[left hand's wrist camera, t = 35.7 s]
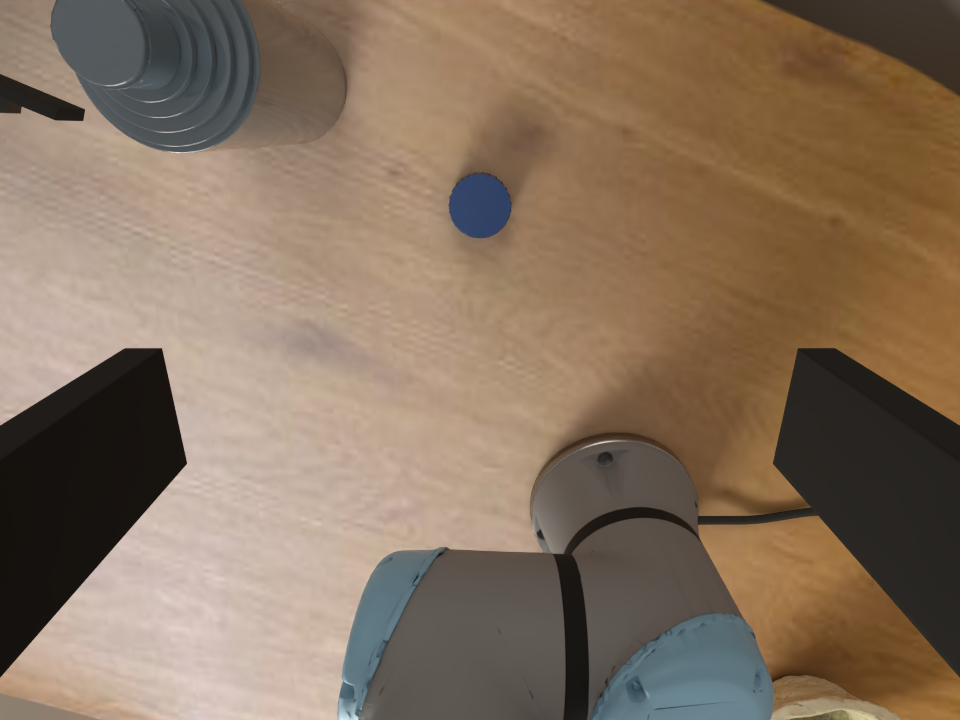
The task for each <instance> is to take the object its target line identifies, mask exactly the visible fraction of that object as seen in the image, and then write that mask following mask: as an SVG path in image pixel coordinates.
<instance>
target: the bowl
mask: <svg viewBox="0 0 960 720" xmlns="http://www.w3.org/2000/svg"><path fill="white" fill-rule="evenodd" d="M772 683H773V688H774V708H773V714H772V717H771V720H901V718H900V717H899V716H898V715H896V714H895V713H894V712H892V711H890V710H888V709H887V708H885V707H882V706H879V705H877V704H875V703H872V702H868V701H865V700H861V699H859V698H857V697H855V696H853V695H851V694H849V693H847V692H846V691H845V690H843V689H842V688H841V687H840V686H838V685H836V684H834V683H832V682H829V681H827V680H825V679H822V678H818V677H814V676H809V675H802V676H786V677H783V678H781V679H778V680H776V681H774V682H772Z"/></svg>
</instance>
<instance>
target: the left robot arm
mask: <svg viewBox="0 0 960 720" xmlns="http://www.w3.org/2000/svg"><path fill="white" fill-rule="evenodd" d="M186 464H187V461H186V456H185V452H184V447H183V443H182V438H181V433H180V429H179V424H178V420H177V415H176V410H175V406H174V401H173V397H172V392H171V388H170V383H169V378H168V374H167V369H166V365H165V360H164V355H163V351H162V348H125V349H123V350H121V351H120V352H118V353H117V354H115V355H113V356H112V357H110V358H109V359H107V360H105V361H104V362H102V363H100V364H99V365H97V366H96V367H94V368H92V369H91V370H89V371H88V372H86V373H84V374H83V375H81V376H80V377H78V378H76V379H75V380H73V381H71V382H70V383H68V384H67V385H65V386H63V387H62V388H60V389H59V390H57V391H55V392H54V393H52V394H50V395H49V396H47V397H46V398H44V399H42V400H41V401H39V402H38V403H36V404H34V405H33V406H31V407H30V408H28V409H26V410H25V411H23V412H21V413H20V414H18V415H17V416H15V417H13V418H12V419H10V420H9V421H7V422H5V423H4V424H2V425H0V677H1V676H2V675H3V674H4V673H5V671H6V670H7V669H8V668H9V667H10V666H11V665H12V663H13V662H14V661H15V660H16V659H17V658H18V657H19V655H20V654H21V653H22V652H23V651H24V650H25V649H26V647H27V646H28V645H29V644H30V643H31V642H32V640H33V639H34V638H35V637H36V636H37V635H38V634H39V632H40V631H41V630H42V629H43V628H44V627H45V626H46V624H47V623H48V622H49V621H50V620H51V619H52V618H53V616H54V615H55V614H56V613H57V612H58V611H59V610H60V608H61V607H62V606H63V605H64V604H65V603H66V602H67V600H68V599H69V598H70V597H71V596H72V595H73V594H74V592H75V591H76V590H77V589H78V588H79V587H80V586H81V584H82V583H83V582H84V581H85V580H86V579H87V578H88V576H89V575H90V574H91V573H92V572H93V571H94V570H95V568H96V567H97V566H98V565H99V564H100V563H101V562H102V560H103V559H104V558H105V557H106V556H107V555H108V554H109V552H110V551H111V550H112V549H113V548H114V547H115V545H116V544H117V543H118V542H119V541H120V540H121V539H122V537H123V536H124V535H125V534H126V533H127V532H128V531H129V529H130V528H131V527H132V526H133V525H134V524H135V523H136V521H137V520H138V519H139V518H140V517H141V516H142V515H143V513H144V512H145V511H146V510H147V509H148V508H149V507H150V505H151V504H152V503H153V502H154V501H155V500H156V499H157V497H158V496H159V495H160V494H161V493H162V492H163V491H164V489H165V488H166V487H167V486H168V485H169V484H170V483H171V481H172V480H173V479H174V478H175V477H176V476H177V475H178V473H179V472H180V471H181V470H182V469H183V468H184V467H185V465H186ZM773 464H774V465H775V467H776V468H777V469H778V470H779V471H780V472H781V473H782V475H783V476H784V477H785V478H786V479H787V480H788V481H789V483H790V484H791V485H792V486H793V487H794V488H795V489H796V491H797V492H798V493H799V494H800V495H801V496H802V497H803V499H804V500H805V501H806V502H807V503H808V504H809V505H810V507H811V508H803V509H796V510H789V511H783V512H777V513H771V514H764V515H754V516H698V500H697V495H696V491H695V488H694V484H693V482H692V480H691V478H690V476H689V474H688V473H687V471H686V469H685V468H684V466H683V464H682V463H681V461H680V460H679V459H678V458H677V457H676V456H675V455H674V454H673V453H672V452H671V451H670V450H669V449H668V448H666V447H665V446H663V445H662V444H660V443H658V442H656V441H654V440H652V439H649V438H646V437H643V436H640V435H635V434H628V433H607V434H600V435H595V436H591V437H588V438H585V439H582V440H580V441H578V442H575V443H573V444H571V445H570V446H568V447H566V448H565V449H563V450H562V451H560V452H559V453H558V454H556V455H555V456H554V457H553V458H552V459H551V460H550V461H549V462H548V463H547V464H546V465H545V467H544V468H543V469H542V471H541V472H540V474H539V475H538V477H537V479H536V481H535V484H534V486H533V489H532V493H531V499H530V514H531V521H532V527H533V531H534V534H535V537H536V539H537V541H538V543H539V545H540V547H541V549H542V551H543V552H544V553H530V552H496V551H473V550H450V549H449V548H447V547H440V548H438V549H436V550H408V551H397V552H394V553H391V554H389V555H388V556H386V557H385V558H384V559H383V560H382V561H381V562H380V563H379V564H378V565H377V567H376V568H375V570H374V571H373V573H372V574H371V576H370V578H369V580H368V582H367V584H366V587H365V589H364V591H363V594H362V597H361V600H360V602H359V605H358V609H357V612H356V615H355V618H354V622H353V625H352V629H351V633H350V637H349V641H348V645H347V650H346V654H345V659H344V664H343V670H342V679H343V683H342V686H341V691H340V696H339V701H338V720H771V717H772V714H773V708H774V688H773V683H772V679H771V676H770V673H769V671H768V669H767V666H766V664H765V662H764V659H763V657H762V655H761V652H760V650H759V648H758V645H757V642H756V639H755V635H754V633H753V630H752V628H751V627H750V626H749V625H748V624H747V623H746V621H745V620H744V619H743V617H742V615H741V613H740V611H739V609H738V608H737V606H736V604H735V602H734V600H733V598H732V597H731V595H730V593H729V591H728V589H727V588H726V586H725V584H724V582H723V580H722V578H721V577H720V575H719V573H718V571H717V569H716V567H715V566H714V564H713V562H712V560H711V558H710V557H709V555H708V553H707V551H706V549H705V547H704V546H703V544H702V542H701V540H700V538H699V532H698V525H716V524H757V523H767V522H774V521H780V520H786V519H792V518H798V517H806V516H819V517H820V518H821V519H822V520H823V521H824V523H825V524H826V525H827V526H828V527H829V528H830V529H831V531H832V532H833V533H834V534H835V535H836V536H837V537H838V539H839V540H840V541H841V542H842V543H843V544H844V545H845V547H846V548H847V549H848V550H849V551H850V552H851V554H852V555H853V556H854V557H855V558H856V559H857V560H858V562H859V563H860V564H861V565H862V566H863V567H864V568H865V570H866V571H867V572H868V573H869V574H870V575H871V576H872V578H873V579H874V580H875V581H876V582H877V583H878V584H879V586H880V587H881V588H882V589H883V590H884V591H885V592H886V594H887V595H888V596H889V597H890V598H891V599H892V600H893V602H894V603H895V604H896V605H897V606H898V607H899V608H900V610H901V611H902V612H903V613H904V614H905V615H906V616H907V618H908V619H909V620H910V621H911V622H912V623H913V624H914V626H915V627H916V628H917V629H918V630H919V631H920V632H921V634H922V635H923V636H924V637H925V638H926V639H927V640H928V642H929V643H930V644H931V645H932V646H933V647H934V649H935V650H936V651H937V652H938V653H939V654H940V655H941V657H942V658H943V659H944V660H945V661H946V662H947V663H948V665H949V666H950V667H951V668H952V669H953V670H954V671H955V673H956V674H957V675H958V676H959V677H960V425H958V424H956V423H955V422H953V421H951V420H950V419H948V418H947V417H945V416H943V415H942V414H940V413H939V412H937V411H935V410H934V409H932V408H930V407H929V406H927V405H926V404H924V403H922V402H921V401H919V400H918V399H916V398H914V397H913V396H911V395H910V394H908V393H906V392H905V391H903V390H901V389H900V388H898V387H897V386H895V385H893V384H892V383H890V382H889V381H887V380H885V379H884V378H882V377H880V376H879V375H877V374H876V373H874V372H872V371H871V370H869V369H868V368H866V367H864V366H863V365H861V364H860V363H858V362H856V361H855V360H853V359H851V358H850V357H848V356H847V355H845V354H843V353H842V352H840V351H839V350H837V349H835V348H798V351H797V355H796V360H795V365H794V369H793V374H792V378H791V383H790V388H789V392H788V397H787V401H786V406H785V410H784V415H783V420H782V424H781V429H780V433H779V438H778V443H777V447H776V452H775V456H774V461H773Z"/></svg>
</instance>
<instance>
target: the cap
mask: <svg viewBox="0 0 960 720" xmlns="http://www.w3.org/2000/svg"><path fill="white" fill-rule="evenodd" d="M449 210H450V212H449V213H450V215H451V218H452V221H453V222H454V224H455V226H456V227H457V228H458V229H459V230H460V231H461V232H463V233H464V234H466V235H468V236H470V237H474V238H486V237H490V236H492V235H494V234H496V233H498V232H499V231H500V230H501V229H502V228H503V227H504V226H505V225H506V223H507V221H508V219H509V216H510V212H511V201H510V195H509V194H508V192H507V188H506V187H505V186H504V185H503V183H502V181H500V180H498V179H497V177H494V176H492V175H490V174H486V173H483V172H482V173H476V172H475V173H474V174H471V175H469V174H468V176H466V177H464V178H462V180H461V181H459V182H457V184H456V186H455V188H453V190H452V195H451V196H450V203H449Z"/></svg>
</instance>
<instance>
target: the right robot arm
mask: <svg viewBox="0 0 960 720" xmlns="http://www.w3.org/2000/svg"><path fill="white" fill-rule="evenodd" d="M21 107H24V108H27V109H29V110H32V111H34V112H37V113H39V114H41V115H44V116H46V117H49V118H51V119H54V120H64V121H83V119H84V113H85V109H83V108H80V107H78V106H75V105H73V104H71V103H68V102H66V101H63V100H61V99H59V98H56V97H54V96H51V95H49V94H47V93H44V92H42V91H39V90H37V89H35V88H32V87H30V86H27V85H25V84H23V83H20V82H18V81H15V80H13V79H11V78H8V77H6V76H3V75H1V74H0V113H21Z"/></svg>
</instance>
